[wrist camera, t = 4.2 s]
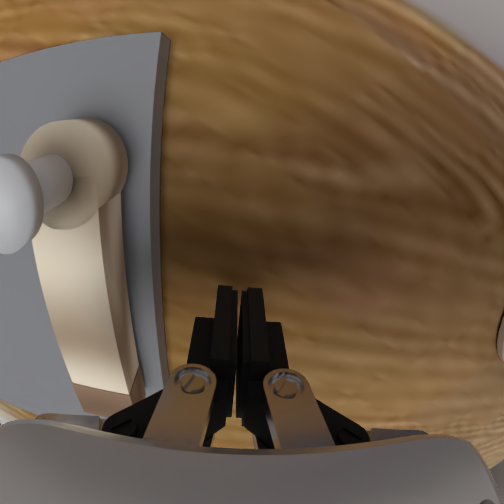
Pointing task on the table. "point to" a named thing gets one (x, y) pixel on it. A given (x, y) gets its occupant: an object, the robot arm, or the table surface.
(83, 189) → the link
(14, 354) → the board
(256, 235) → the table surface
